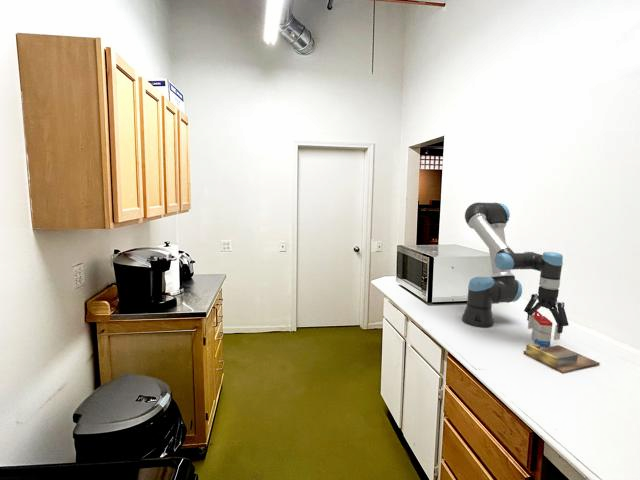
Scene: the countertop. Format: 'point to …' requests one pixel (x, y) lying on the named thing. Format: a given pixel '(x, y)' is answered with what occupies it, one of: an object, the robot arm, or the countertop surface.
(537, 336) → the ink box
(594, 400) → the countertop surface
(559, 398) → the countertop surface
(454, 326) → the countertop surface
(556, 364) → the board
